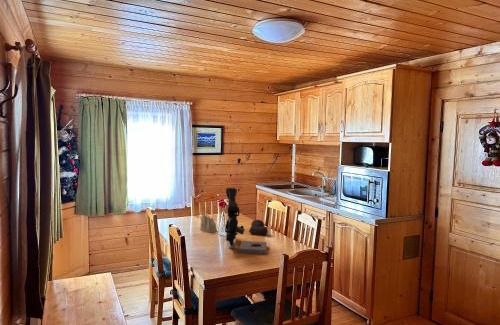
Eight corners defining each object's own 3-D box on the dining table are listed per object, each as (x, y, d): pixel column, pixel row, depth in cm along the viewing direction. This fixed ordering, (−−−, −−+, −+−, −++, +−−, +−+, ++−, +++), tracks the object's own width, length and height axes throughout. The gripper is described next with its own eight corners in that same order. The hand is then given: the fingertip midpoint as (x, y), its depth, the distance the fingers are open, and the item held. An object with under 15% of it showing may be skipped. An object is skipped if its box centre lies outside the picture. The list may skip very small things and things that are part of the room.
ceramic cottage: (209, 233, 281) (210, 214, 281) (196, 230, 291) (196, 212, 291) (223, 230, 292) (223, 212, 293) (209, 227, 303) (210, 210, 303)
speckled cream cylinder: (228, 248, 243) (228, 237, 242) (229, 246, 248) (229, 235, 247) (235, 249, 242) (235, 237, 242) (236, 246, 247) (236, 235, 247)
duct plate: (238, 253, 235) (239, 248, 234) (241, 244, 253) (241, 240, 252) (265, 254, 233) (265, 250, 233) (266, 246, 251) (266, 242, 251)
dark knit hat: (265, 227, 275) (268, 219, 289) (247, 227, 278) (251, 219, 292) (266, 238, 277) (269, 230, 291) (248, 238, 280) (251, 230, 294)
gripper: (242, 227, 234) (242, 249, 235) (245, 220, 252) (244, 241, 254) (226, 226, 235) (225, 248, 236) (230, 219, 253) (229, 240, 254)
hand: (232, 244), depth 245 cm, fingers closed on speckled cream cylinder, 5 cm apart
